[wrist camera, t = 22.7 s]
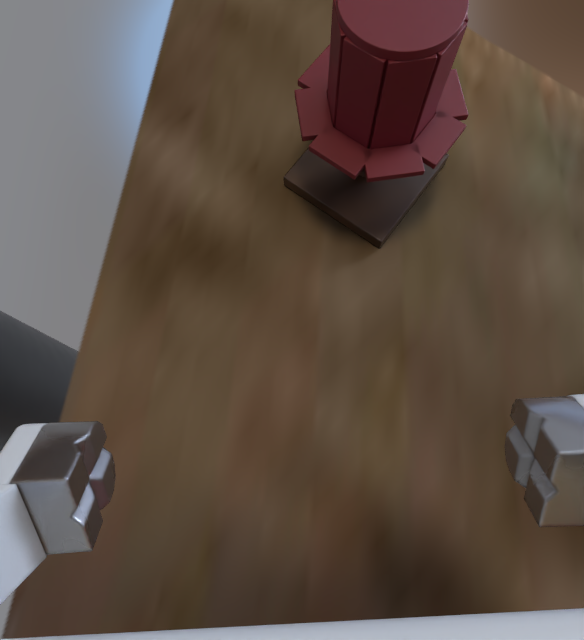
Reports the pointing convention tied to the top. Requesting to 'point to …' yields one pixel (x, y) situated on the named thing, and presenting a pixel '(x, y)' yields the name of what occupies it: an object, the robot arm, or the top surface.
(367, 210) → the hat stand
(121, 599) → the top surface
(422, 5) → the hat
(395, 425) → the top surface
